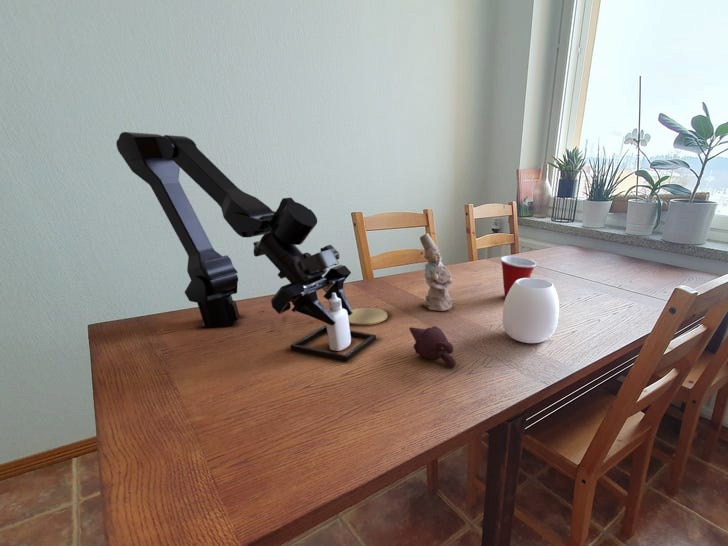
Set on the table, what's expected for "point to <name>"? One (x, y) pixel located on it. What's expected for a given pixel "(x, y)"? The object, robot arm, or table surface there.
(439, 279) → the figurine
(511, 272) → the plastic cup
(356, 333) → the empty black square frame
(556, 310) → the white vase
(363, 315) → the cork trivet
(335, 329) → the eye dropper bottle
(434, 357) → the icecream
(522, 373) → the table surface
